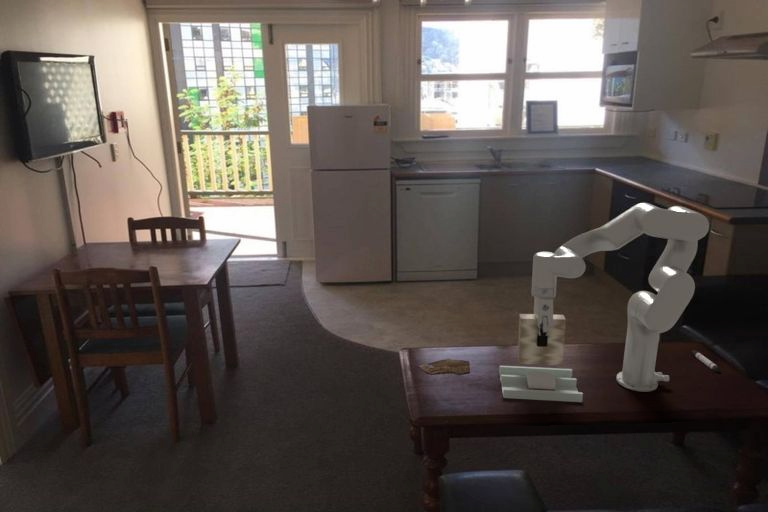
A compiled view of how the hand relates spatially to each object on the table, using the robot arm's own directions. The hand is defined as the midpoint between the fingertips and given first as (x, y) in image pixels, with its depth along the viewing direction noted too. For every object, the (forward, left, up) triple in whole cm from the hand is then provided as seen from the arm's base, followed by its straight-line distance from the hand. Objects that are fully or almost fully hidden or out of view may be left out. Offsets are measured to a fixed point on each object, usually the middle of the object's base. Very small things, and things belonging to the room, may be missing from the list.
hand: (540, 342), depth 181 cm
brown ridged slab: (+27, -8, -15) cm, 32 cm away
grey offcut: (0, +8, -11) cm, 13 cm away
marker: (-61, -22, -15) cm, 67 cm away
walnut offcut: (0, +8, -13) cm, 15 cm away
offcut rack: (0, +5, -14) cm, 15 cm away
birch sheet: (0, 0, -7) cm, 7 cm away
